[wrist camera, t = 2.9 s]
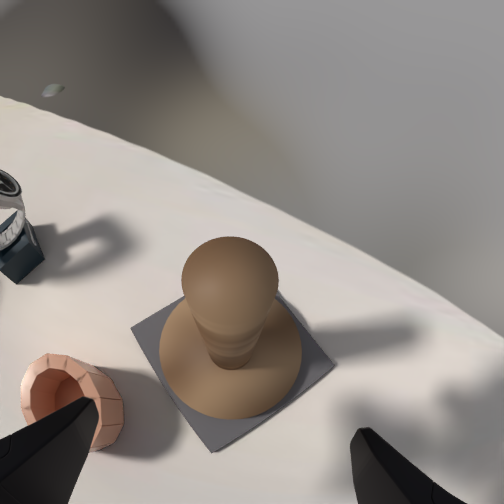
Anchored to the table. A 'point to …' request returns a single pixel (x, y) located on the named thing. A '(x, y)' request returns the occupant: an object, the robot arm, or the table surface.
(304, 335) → the mat
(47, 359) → the bowl
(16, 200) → the watch
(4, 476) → the robot arm
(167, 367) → the lid
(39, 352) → the table surface
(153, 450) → the table surface
